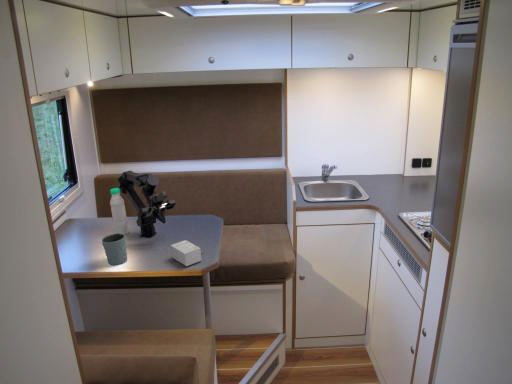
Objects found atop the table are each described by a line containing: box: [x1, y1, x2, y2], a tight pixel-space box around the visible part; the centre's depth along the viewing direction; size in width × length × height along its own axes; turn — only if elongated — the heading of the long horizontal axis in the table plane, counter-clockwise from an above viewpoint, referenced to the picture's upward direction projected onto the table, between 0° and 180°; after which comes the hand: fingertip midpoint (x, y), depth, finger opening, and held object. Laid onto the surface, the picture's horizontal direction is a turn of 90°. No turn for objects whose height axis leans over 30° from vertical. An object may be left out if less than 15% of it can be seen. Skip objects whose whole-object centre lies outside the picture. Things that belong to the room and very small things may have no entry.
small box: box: [170, 239, 202, 267], centre depth 196 cm, size 8×6×13 cm
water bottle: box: [109, 187, 130, 236], centre depth 229 cm, size 7×7×25 cm
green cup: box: [101, 233, 128, 267], centre depth 199 cm, size 10×10×12 cm
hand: (164, 223), depth 208 cm, fingers closed
